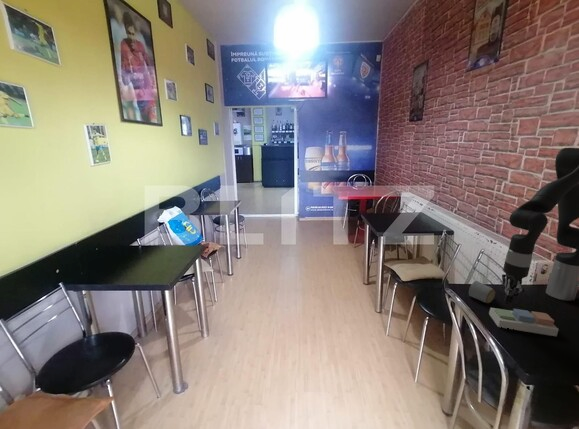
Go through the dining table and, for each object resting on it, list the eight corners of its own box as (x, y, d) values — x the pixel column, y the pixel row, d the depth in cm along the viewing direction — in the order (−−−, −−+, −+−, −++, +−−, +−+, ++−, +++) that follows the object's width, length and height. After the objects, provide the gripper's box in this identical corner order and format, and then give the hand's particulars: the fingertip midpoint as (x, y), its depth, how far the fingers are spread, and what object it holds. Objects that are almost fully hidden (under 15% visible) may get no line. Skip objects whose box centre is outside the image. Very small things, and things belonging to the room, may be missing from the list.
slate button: (526, 316, 114) (528, 310, 114) (533, 324, 110) (534, 318, 109) (511, 314, 115) (513, 308, 115) (517, 322, 111) (519, 315, 110)
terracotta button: (544, 319, 113) (546, 313, 112) (552, 327, 108) (554, 320, 107) (529, 317, 114) (531, 311, 113) (536, 324, 109) (538, 318, 109)
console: (542, 322, 115) (544, 315, 114) (556, 336, 107) (558, 329, 106) (489, 313, 120) (490, 307, 119) (498, 327, 111) (499, 320, 110)
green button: (507, 316, 116) (509, 310, 115) (513, 323, 111) (515, 317, 111) (493, 314, 117) (495, 308, 116) (499, 321, 113) (500, 315, 112)
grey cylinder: (486, 306, 125) (490, 290, 123) (466, 297, 132) (470, 282, 130) (497, 300, 131) (501, 284, 129) (478, 292, 137) (481, 277, 135)
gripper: (539, 271, 101) (527, 314, 105) (520, 256, 113) (510, 295, 118) (514, 268, 103) (504, 310, 107) (498, 254, 115) (489, 293, 120)
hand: (507, 302), depth 113 cm, fingers closed
